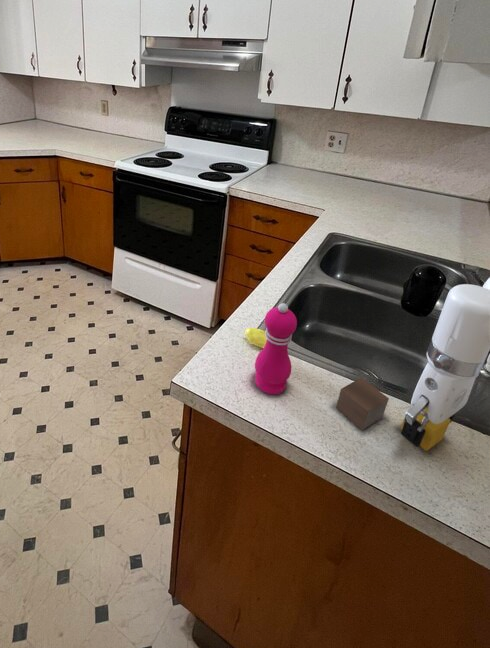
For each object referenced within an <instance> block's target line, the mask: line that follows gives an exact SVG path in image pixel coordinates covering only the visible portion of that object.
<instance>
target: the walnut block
mask: <svg viewBox="0 0 490 648" xmlns="http://www.w3.org/2000/svg"><path fill="white" fill-rule="evenodd" d="M389 399H390V398H389V397H388V396H386V395H385V394H384V393H383V392H382V391H380V390H379V389H377V388H376V387H375V386H374V385H373V384H371V383H369V382H368V381H367V380H366V379H364V377H359V378H358V379H356V380H354V381H352V382H350V383H348V384H346V385H345V386H343V387H341V388H340V391H339V394H338V398H337V402H336V405H335V407H336V409H337V410H338V411H340V413H342V414H343V415H344V416H345V417H346V418H347V419H348V420H350V421H351V422H352V423H353V424H354V425H355V426H356V427H357V428H359V429H360V430H361V431H363V430H365V429H367V428H369V427H370V426H371V425H373V424H375V423H376V422H378V421H379V420H381V419H382V418H383V417H384V415H385V412H386V409H387V405H388V402H389Z"/></svg>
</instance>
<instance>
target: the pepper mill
mask: <svg viewBox="0 0 490 648" xmlns="http://www.w3.org/2000/svg"><path fill="white" fill-rule="evenodd" d="M264 326H265V331H266V332H265V336H266V338H267V341H266V344H265V347H264V348H261V350H260V351H259V352H258V354H257V356H256V358H255V362H254V370H255V377H254V382H255V385H256V386H257V388H258V389H259V390H261V391H262V392H263V393H266V394H268V395H279V394H281V393H282V392H284V391H285V390H286V387H287V381H288V380H289V378H290V377H291V375H292V361H291V357H290V355H289V350H288V348H289V347H288V346H289V344H290V343H291V342H292V337H293V333H295V331H296V330H297V326H298V320H297V317H296V315H295V314H294V312H293V311H292V310H291V309H289V306H288V305H287V304H286V303H285V302H284V303H282V302H281V303H280V304H278V306H276V307H272V308H271V309H269V310H268V311H267V312H266V314H265V317H264Z"/></svg>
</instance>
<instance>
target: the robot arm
mask: <svg viewBox="0 0 490 648" xmlns="http://www.w3.org/2000/svg"><path fill="white" fill-rule="evenodd" d="M489 352H490V277H488V278H487V280H486V281H485V282H484V283H483V285H482V286H480V285H477V284H470V283H463V284H457V285H455V286H453V287H452V288H451V289H450V290H449V291H448V293H447V295H446V298H445V300H444V304H443V306H442V310H441V312H440V314H439V317H438V320H437V323H436V326H435V328H434V332H433V334H432V337H431V340H430V342H429V345H428V348H427V351H426V359H427V363H426V365H425V367H424V369H423V371H422V373H421V375H420V377H419V379H418V382H417V384H416V386H415V389H414V391H413V393H412V397H411V400H410V406H411V407H410V408H409V409H408V410H407V411H406V412H405V414H404V419H405V423H404V426H403V428H402V431H401V430H400V431H401V432H400V434H401V435H402V437H404V438H405V439H406V440H407V441H409V442H410V444H412V445H413V446H415V447H416V448H418V447H421V446H420V444H421V441H422V439H423V436H424V434H425V431H426V430H425V429H424V428H425V427H426V425H427V424H428V422H429V421H431V422H432V423H433V424H440V423H442V422H444V421H445V420H446V419H448V418H449V419H450V420H451V421H450V423H449V424H451V423H452V422H453V419H454V416H455V414H456V413H457V412H459V411H460V410H461V409H463V408H464V407H465V406H466V405H467V403H468V400H469V398H470V395H471V392H472V390H473V387H474V384H475V381H476V378H477V377H478V376H480V373H481V370H482V368H483V366H484V364H485V362H486V359H487V357H488V354H489ZM425 408H427V413H428V414H427V413H426V412H424V411H423V410H424V409H425ZM420 413H421V414H422V415H423V416H425V418H424V420H423V421H422V422H421V423H419V422H418V421H417V417H418V415H419V414H420Z"/></svg>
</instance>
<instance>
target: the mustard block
mask: <svg viewBox="0 0 490 648" xmlns="http://www.w3.org/2000/svg"><path fill="white" fill-rule="evenodd" d="M423 411H424V412H426V413H427V408H425V409H424V410H423ZM427 414H428V413H427ZM424 418H425V416H423V415H422V414H421V413H420V414H419V415H418V417H417V421H418V422H419V423H421V422H422V421H423V420H424ZM450 421H451V420H450V419H449V418H448V419H446V420H445V421H444V422H442V423H440V424H433V423H432V422H431V421H429V422H428V424H427V425H426V427H425V428H424V429H425V430H426V431H425V434H424V436H423V439H422V441H421V444H420V446H419V447H421V448H422V449H423V450H424V451H426V452H427V451H429V450H431V449H432V448H433V447H434V446H435V445H437V444H438V443H439V442H441V441H442V440H443V439H444V437H445V435H446V432H447V431H448V428H449V425H450V424H451V423H450ZM404 423H405V418H404V419H403V422H402V424H401V426H400V429H399V430H400V431H402V428H403V426H404Z"/></svg>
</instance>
